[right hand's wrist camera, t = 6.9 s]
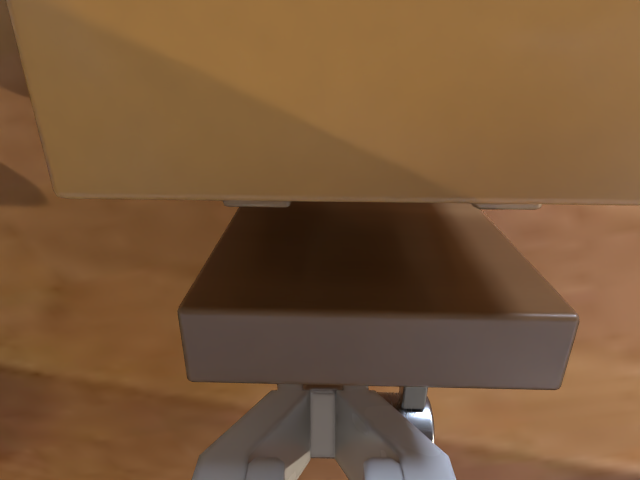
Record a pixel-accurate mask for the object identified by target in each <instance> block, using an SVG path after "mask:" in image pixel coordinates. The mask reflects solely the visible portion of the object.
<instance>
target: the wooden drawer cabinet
mask: <svg viewBox="0 0 640 480" xmlns="http://www.w3.org/2000/svg"><path fill="white" fill-rule="evenodd" d="M6 3H7V7H8V11H9V15H10V19H11V23H12V27H13V31H14V35H15V39H16V43H17V47H18V51H19V55H20V59H21V63H22V67H23V71H24V75H25V79H26V83H27V87H28V91H29V95H30V99H31V103H32V107H33V111H34V115H35V119H36V123H37V127H38V131H39V135H40V139H41V143H42V147H43V151H44V155H45V159H46V163H47V167H48V171H49V175H50V179H51V183H52V187H53V191H54V192H55V194H56V195H57V196H58V197H61V198H67V199H144V200H226V201H309V202H391V203H473V204H555V205H637V206H640V0H6Z"/></svg>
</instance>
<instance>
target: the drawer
mask: <svg viewBox="0 0 640 480" xmlns="http://www.w3.org/2000/svg"><path fill="white" fill-rule="evenodd" d="M223 203H224V205H225V206H228V207H239V209H238V210H237V212H236V213H235V215H234V217H233V218H232V220H231V222H230V223H229V225H228V227H227V228H226V230H225V232H224V233H223V235H222V237H221V238H220V240H219V242H218V243H217V245H216V247H215V248H214V250H213V251H212V253H211V255H210V256H209V258H208V260H207V261H206V263H205V265H204V266H203V268H202V270H201V271H200V273H199V275H198V276H197V278H196V280H195V281H194V283H193V285H192V286H191V288H190V289H189V291H188V293H187V294H186V296H185V298H184V299H183V301H182V303H181V304H180V306H179V308H178V311H177V312H178V319H179V325H180V332H181V339H182V345H183V352H184V359H185V366H186V372H187V378H188V380H189V381H192V382H219V383H264V384H277V389H278V384H308V385H352V386H397V387H399V393H387V392H377V393H378V394H379V395H380V396H382V397H383V398H384V399H385V400H386V401H387V402H388V403H389V404H390V405H392V406H393V407H394V408H395V409H396V410H397V411H398V412H399V413H401V414H402V415H403V416H404V417H405V418H406V419H407V420H408V421H410V422H411V423H412V424H413V425H414V426H415V427H416V428H417V429H419V430H420V431H421V432H422V433H423V434H424V435H425V436H426V437H428V438H429V439H430V440H431V441H432V442H433V443H434V420H433V413H432V408H431V404H430V401H429V399H428V397H427V390H428V387H441V388H485V389H530V390H557V389H559V388H560V387H561V384H562V381H563V377H564V374H565V370H566V367H567V363H568V360H569V357H570V353H571V350H572V346H573V343H574V339H575V336H576V332H577V329H578V325H579V316H578V314H577V313H576V312H575V311H574V309H573V308H572V307H571V306H570V305H569V304H568V303H567V302H566V301H565V300H564V299H563V298H562V297H561V296H560V294H559V293H558V292H557V291H556V290H555V289H554V288H553V287H552V286H551V285H550V284H549V283H548V282H547V281H546V279H545V278H544V277H543V276H542V275H541V274H540V273H539V272H538V271H537V270H536V269H535V268H534V267H533V266H532V264H531V263H530V262H529V261H528V260H527V259H526V258H525V257H524V256H523V255H522V254H521V253H520V252H519V250H518V249H517V248H516V247H515V246H514V245H513V244H512V243H511V242H510V241H509V240H508V239H507V238H506V237H505V235H504V234H503V233H502V232H501V231H500V230H499V229H498V228H497V227H496V226H495V225H494V224H493V223H492V222H491V220H490V219H489V218H488V217H487V216H486V215H485V214H484V213H483V212H482V211H481V210H480V209H517V210H535V209H539V208H540V207H541V206H542V204H473V203H391V202H309V201H226V200H223ZM310 458H327V459H335V457H310Z"/></svg>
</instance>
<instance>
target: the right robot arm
mask: <svg viewBox="0 0 640 480" xmlns="http://www.w3.org/2000/svg"><path fill="white" fill-rule="evenodd" d="M310 457H335V460H336V461H337V463H338V464H339V465H340V467H341V468H342V470H343V471H344V473H345V474H346V476H347V477H348V479H349V480H456V477H455V474H454V471H453V468H452V465H451V462H450V459H449V456H448V455H447V454H445V453H444V452H443V451H442V450H441V449H440V448H439V447H438V446H436V445H435V444H434V443H433V442H432V441H431V440H430V439H429V438H428V437H426V436H425V435H424V434H423V433H422V432H421V431H420V430H419V429H417V428H416V427H415V426H414V425H413V424H412V423H411V422H410V421H408V420H407V419H406V418H405V417H404V416H403V415H402V414H401V413H399V412H398V411H397V410H396V409H395V408H394V407H393V406H392V405H390V404H389V403H388V402H387V401H386V400H385V399H384V398H383V397H382V396H380V395H379V394H378V393H377V392H376V391H374V390H368V386H352V385H308V384H278V389H277V390H272V391H270V392H269V393H268V394H267V395H266V396H265V397H264V398H262V399H261V400H260V401H259V402H258V403H257V404H256V405H255V406H254V407H252V408H251V409H250V410H249V411H248V412H247V413H246V414H245V415H244V416H242V417H241V418H240V419H239V420H238V421H237V422H236V423H235V424H234V425H233V426H231V427H230V428H229V429H228V430H227V431H226V432H225V433H224V434H223V435H221V436H220V437H219V438H218V439H217V440H216V441H215V442H214V443H213V444H211V445H210V446H209V447H208V448H207V449H206V450H205V451H204V452H203V453H202V454H200V455H199V458H198V461H197V465H196V468H195V471H194V474H193V477H192V480H297V479H298V478H299V476H300V475H301V473H302V472H303V470H304V469H305V467H306V466H307V464H308V463H309V461H310V459H311V458H310Z"/></svg>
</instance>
